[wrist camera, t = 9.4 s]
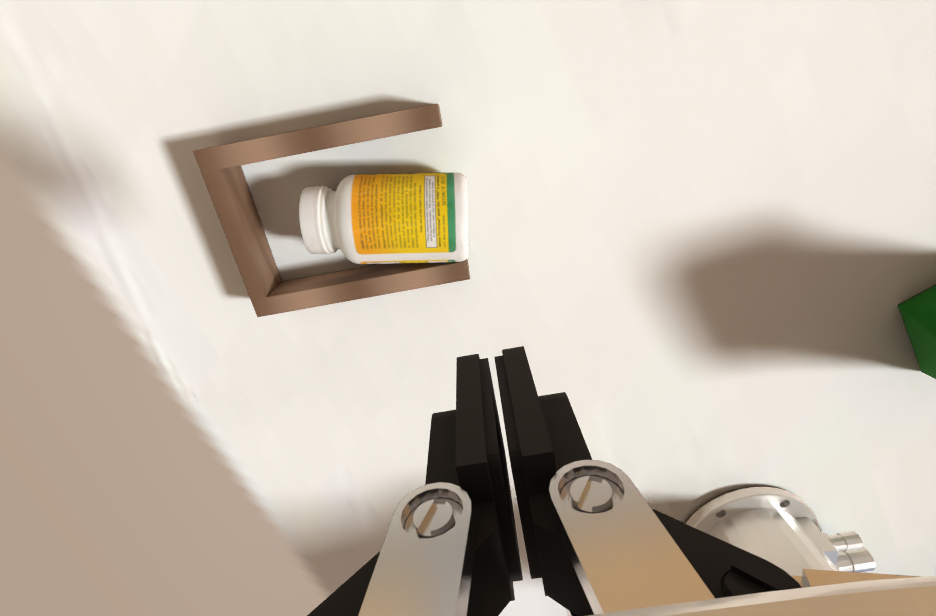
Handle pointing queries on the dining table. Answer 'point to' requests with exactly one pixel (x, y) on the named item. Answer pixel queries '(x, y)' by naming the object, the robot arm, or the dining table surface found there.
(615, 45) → the dining table surface
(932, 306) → the milk carton
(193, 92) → the dining table surface
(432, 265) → the u rest
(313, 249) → the supplement bottle
